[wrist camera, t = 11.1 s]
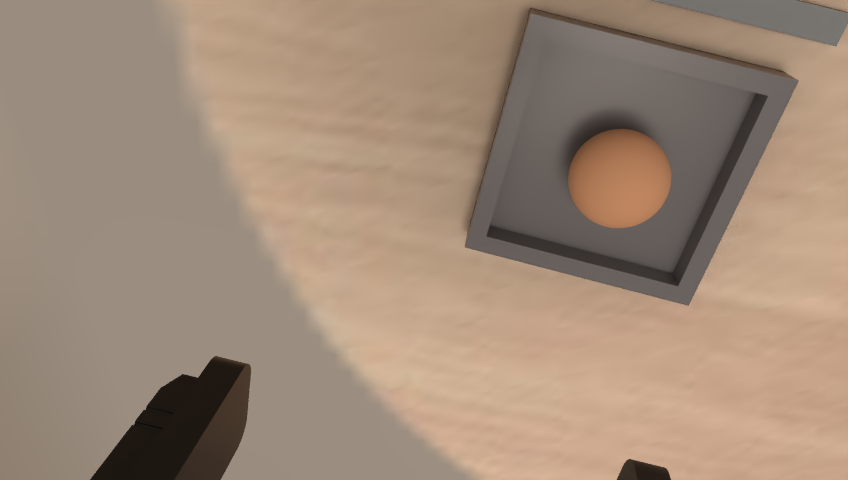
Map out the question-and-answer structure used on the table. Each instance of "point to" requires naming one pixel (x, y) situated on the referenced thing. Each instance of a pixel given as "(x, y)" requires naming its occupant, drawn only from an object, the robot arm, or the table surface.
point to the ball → (619, 178)
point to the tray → (635, 110)
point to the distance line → (776, 16)
